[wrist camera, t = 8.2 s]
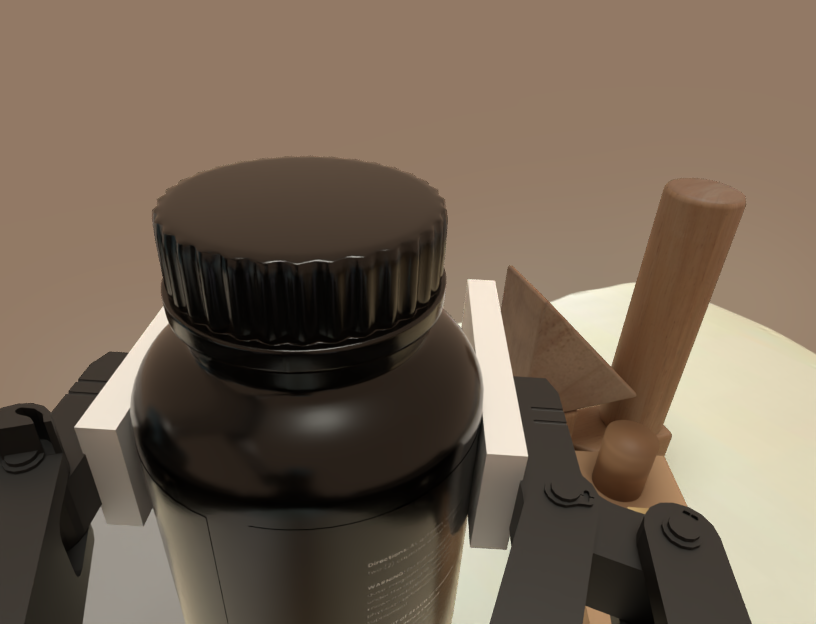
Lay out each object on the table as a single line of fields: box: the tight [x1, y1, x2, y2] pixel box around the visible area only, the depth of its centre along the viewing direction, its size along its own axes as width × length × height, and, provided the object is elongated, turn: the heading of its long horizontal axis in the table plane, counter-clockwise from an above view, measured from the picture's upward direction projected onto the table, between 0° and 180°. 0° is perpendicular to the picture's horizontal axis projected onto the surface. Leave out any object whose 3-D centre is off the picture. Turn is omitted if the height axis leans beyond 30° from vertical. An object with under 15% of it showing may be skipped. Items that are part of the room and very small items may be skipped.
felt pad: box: [83, 507, 185, 624], centre depth 30 cm, size 10×10×1 cm
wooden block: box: [501, 178, 746, 456], centre depth 31 cm, size 4×11×18 cm, turn 108°
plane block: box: [575, 420, 687, 624], centre depth 26 cm, size 6×12×8 cm, turn 178°
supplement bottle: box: [130, 156, 484, 624], centre depth 13 cm, size 7×7×12 cm
